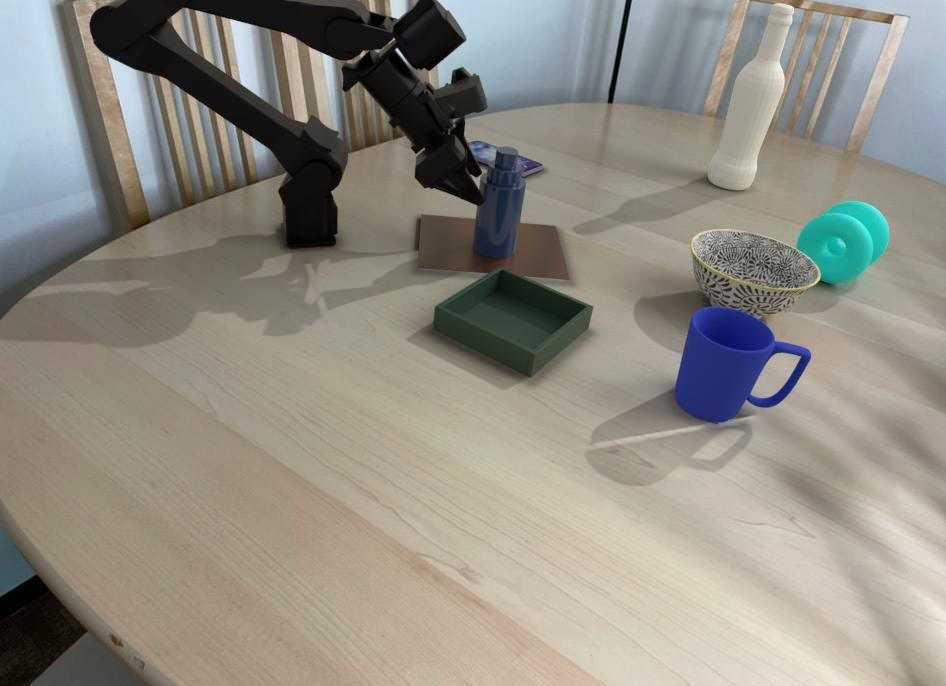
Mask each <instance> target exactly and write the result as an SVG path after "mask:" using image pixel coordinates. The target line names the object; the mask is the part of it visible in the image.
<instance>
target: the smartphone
mask: <svg viewBox="0 0 946 686" xmlns="http://www.w3.org/2000/svg"><path fill="white" fill-rule="evenodd" d="M467 142H468V144H469V146H470V148H471V150H472V152H473V154H474V156H475V158H476V160H477V162H480V163H482V164H484V165H486V166H488V163H489V162H490V161H492V160H495V157H496V149H497V148H498V147H499V146H496V145H493V144H491V143H487V142H485V141H482V140H477V139H476V140H472V141H467ZM517 163H519V164H520V165H521V166H522V173H521V177H522V178H523V177H526V176H529V175H531V174H534V173H537V172H540V171H541V170H543V167H544V165H543V163H542V162H539V161H536V160H533V159H531V158H528V157H525V156H523V155H520V154H518V158H517Z"/></svg>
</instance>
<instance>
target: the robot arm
mask: <svg viewBox="0 0 946 686" xmlns="http://www.w3.org/2000/svg"><path fill="white" fill-rule="evenodd" d="M182 9H188V10H192V11H196V12H201V13H204V14H208V15H212V16H215V17H219V18H223V19H227V20H232V21H236V22H239V23H244V24H248V25H251V26H256V27H259V28H263V29H267V30H271V31H275V32H278V33H281V34H284V35H288V36H289V37H292V38H295V39H296V40H298V41H299V42H301V43H302V44H303V45H305V46H307V47H308V48H310V49H312V50H315V51H316V52H319V53H320V54H322V55H325V56H328V57H330V58H332V59H335V60H338V61H343V62H344V61H345V62H344V63H343V64H342V66H341V73H342V86H341V89H342V92H345V93H347V92H349V91H350V90H351V89H352V88H354V87H355V86H356V85H357V84H358V83H359V84H360V85H361V86H362V87H363V89H364V90H365V91H366V92H367V94H369V95H370V96H371V98H372V99H373V100H374V102H376V103H377V105H378V106H379V107H380V108H381V109H382V110H383V112H384V113H385V114H386V115H387V116H388V121H387V123H388V124H389V125H390V126H391V127H392V129H396V128H398V129H399V130H400V132H401V133H402V134H404V136H405V137H406V138H407V139H408V140H409V142H410V149H411V150H412V151H413V153H414V154H415V155H416V157H415V164H414V179H415V180H416V181H417V182H418V183H419V184H420V186H421V187H422V188H423V189H424V190H425V189H430V190H433V189H434V190H436V191H437V190H438V191H440V192H443V193H446V194H449V195H450V196H453V197H456V198H458V199H460V200H463V201H465V202H467V203H470V204H472V205H474V206H476V207H477V206H480V205H482V204H483V203H484V202H485V199H484V197H483V196H482V194H481V192H480V190H479V186H478V185H477V183H476V182H475V180H474V179H473V177H474V178H480V177H481V175H482V174H483V171H482V168H481V167H480V165H479V161H477V160H476V158H475V156H474V154H473V152H472V150H471V148H470V146H469V144H468V142H469V141H468V140H467V138H466V135H465V131H466V116H468V115H471V114H473V113H476V114H479V113H481V112H484V111H486V110H487V109H488V107H489V105H488V101H487V100H488V99H487V96H486V93H485V89H484V87H483V84H482V80H481V77H480V75H479V74H477V73H476V72H474V73H472V74H471V73H470V72H469V71H468V70H467V69H466V68H465V67H464V66H461V67H458V68H455V69H453V70H452V71H451V78H450V83H448V82H446V83H444V86H441V87H439V88H435V87H434V86H433V85H432V84H431V82H430V81H429V82H427V81H426V80H425V81H421V79H420V78H419V77H418V76H417V74H416V73H415V72H414V70H416V71H423V70H424V69H425V71H427V72H431V71H432V70H434V68H436V67H437V66H438V65H439V64H440V63H442V62H443V61H444V60H445V59H446V58H448V57H449V56H450V55H451V54H452V53H453V52H455V51H456V50H457V49H458V48H459V47H461V46H462V45H463V44H464V43H466V41H467V36H466V34H465V32H464V29H462V27H461V25H460V24H459V22H458V20H457V19H456V18H455V16H454V15H453V14H452V13H451V11H450V10H449V9H446V7H444V6H443V4H442V3H441V2H440V1H439V0H417V1H416V2H415V3H414V5H412V6H411V7H410V8H408V10H406V12H404V13H403V14H402V15H401V16H400V17H399V18H397V17H393V16H389V15H385V14H382V13H377V12H374V11H371V10H368V8H367V6H366V5H365V4H364V3H363V2H362V1H361V0H113V1H111V2H108V3H106V4H105V5H103V6H101V7H99V8H97V9H95V10H94V12H93V13H92V15H91V16H90V20H89V33H90V36H91V38H92V44H93V45H94V46H95V47H96V48H97V50H99V52H101V53H102V54H103V55H104V56H106V57H107V58H110V59H112V60H114V61H116V62H118V63H119V64H122V65H124V66H126V67H128V68H130V69H133V70H135V71H139V72H142V73H145V74H150V75H153V76H157V77H161V78H163V79H164V80H167V81H168V82H170V83H171V84H173V85H174V86H175V87H177V88H178V89H180V90H182V91H183V92H185V93H186V94H187V95H189V96H190V97H192V98H193V99H194V100H196V101H198V103H200V104H202V105H203V106H204V107H207V108H208V109H209V110H211V111H212V112H214V113H215V114H216V115H218V116H220V117H221V118H223V119H224V120H225V121H227V122H229V123H230V124H232V125H233V126H234V127H236V128H238V129H239V130H241V132H243V133H244V134H246V135H247V136H249V137H251V138H252V139H254V140H255V141H256V142H258V143H260V144H261V145H262V146H264V147H265V148H266V149H268V150H269V151H270V152H271V153H272V154H273V155H274V157H275V158H276V160H277V161H278V162H279V164H280V166H282V168H283V169H284V171H285V172H286V174H285V176H284V178H283V180H282V181H281V184H280V186H279V188H278V190H277V193H278V195H279V198H280V200H281V205H282V206H281V207H282V222H281V223H280V228H281V232H282V235H283V238H284V241H285V244H286V247H287V248H290V249H292V248H308V247H322V246H335V245H337V238H336V235H338V233H339V231H338V230H339V227H338V226H339V221H338V220H339V207H338V205H337V203H336V200H335V199H334V195H333V191H335V190H336V189H337V188H338V187H339V186H340V184H341V182H342V180H343V177H344V175H345V171H346V169H347V165H348V162H349V153H348V148H347V145H346V144H345V142H344V141H343V140H342V139H341V138H340V137H339V134H340V132H339V131H338V130H334V129H331V128H330V127H328V126H326V124H324V123H323V122H322V121H321V120H320V119H319V118H318V117H316V116H315V115H313V114H311V115H310V116H309V118H308V120H307V121H306V122H304V121H300V120H297V119H294V118H291V117H289V116H288V115H286V114H284V113H283V112H282V111H280V110H279V109H277V107H275V106H273V105H271V104H270V103H268V102H267V101H266V100H264V99H263V98H262V97H260V96H259V95H258V94H256V93H255V92H253V90H250V89H249V88H248V87H246V86H245V85H243V84H242V83H241V82H239V81H238V80H236V79H234V78H233V77H232V76H230V75H229V74H227V73H226V72H225V71H223V70H222V69H220V67H218V66H216V65H215V64H213V63H212V62H211V61H209V60H208V59H206V57H203V56H202V55H201V54H200V53H198V52H196V51H195V50H193V48H190V47H189V46H188V45H187V44H186V43H185V41H184V40H183V38H182V37H181V36H180V34H179V32H178V31H177V30H176V29H175V27H174V26H173V24H172V23H171V22H170V21H169V20H170V19H171V18H172V17H174V16H175V15H176V14H177V13H179V12H180V11H181V10H182ZM379 50H380V51H379ZM397 50H398V51H399V52H400V53H401V55H402V56H403V57H402V56H401V55H400V54H399V52H398V51H397ZM366 51H367V52H366ZM363 52H366V53H365V54H363V55H362V56H361V57H360V58H359V59H358V60H357V61H355V62H354V63H350V62H347V61H352V60H353V59H355V58H357V57H358V56H360V55H361V54H362V53H363ZM405 60H406V61H405ZM409 65H410V66H411V67H412V68H413V69H414V70H413V69H412V68H411V67H410V66H409Z"/></svg>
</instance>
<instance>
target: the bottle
mask: <svg viewBox="0 0 946 686" xmlns="http://www.w3.org/2000/svg"><path fill="white" fill-rule="evenodd" d="M794 14H795V7H794V6H792V5H790V4H787V3H781V2H779V3H778V2H777V3H774V4H772V6H771V8H770V14H769V15H768V17H767V19H766V21H767V24H766V27H765V29H764V33H763V36H762V38H761V41H760V44H759V47H758V50H757V52H756V56H755V57H754V58H753V59H752V60H750V61H749V62H748V63H747V64H746V65H744V66H743V67H742V69H741V70H740V72H739V73H738V74H737V76H736V79H735V81H734V84H733V88H732V92H731V96H730V101H729V105H728V108H727V113H726V117H725V121H724V124H723V125H724V126H723V130H722V133H721V137H720V138H721V139H720V142H719V145H718V147H717V150H716V152H715V153H714V155H713V156H712V158H711V160H710V163H709V166H708V170H707V179H708V181H709V182H710V183H712V184H713V185H714V186H716V187H718V188H721V189H725V190H729V191H737V192H738V191H744V190H748V189H749V188H750V187H751V186H752V184H753V182H754V180H755V177H756V174H757V171H758V157H759V153H760V151H761V147H762V145H763V142H764V140H765V138H766V136H767V133H768V130H769V128H770V125H771V122H772V120H773V118H774V115H775V112H776V110H777V108H778V105H779V103H780V100H781V98H782V95H783V92H784V89H785V85H786V78H785V77H786V76H785V73H784V70H783V68H782V65H781V61H780V60H781V57H782V54H783V50H784V47H785V45H786V44H785V43H786V40H787V38H788V33H789V30H790V27H791V26H792V24H793V15H794Z"/></svg>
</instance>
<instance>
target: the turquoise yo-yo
mask: <svg viewBox="0 0 946 686" xmlns="http://www.w3.org/2000/svg"><path fill="white" fill-rule="evenodd" d="M889 242H890V226H889V224H888V221H887V219H886V217H885V216H884V215H883V214H882V212H881V211H880V210H879V209H877V208H876V207H875V206H873V205H871V204H869V203H866V202H863V201H858V200H847V201H842V202H839V203H836V204H834V205H832V206H831V207H829V208H828V209H827V210H825V211H824V212H823V214H821V215H818V216H815V217H814V218H812V219H811V220H810V221H808V222H807V223H806V224H805V225H804V226H803V228H802V229H801V230H800V232H799V234H798V236H797V240H796V246H795V248H796V249H798V250H799V251H801V252H802V253H804V254H805V255H807V256H808V257H809V258H810V259H811V260H812V261H813V262H814V263H815V264H816V265H817V266H818V268H819V270H820V273H821V277H820V279H819V281H821V282H824V283H828V284H843V283H848V282H849V281H852V280H855V279H856V278H858V277H859V276H861V274H863V273H864V272H865V271H866V269H868V267H869V265H872V264H874V263H875V262H876V261H878V260H879V259H880V258H881V257H882V256H883V254H884V253H885V252H886V250H887V248H888V245H889Z"/></svg>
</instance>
